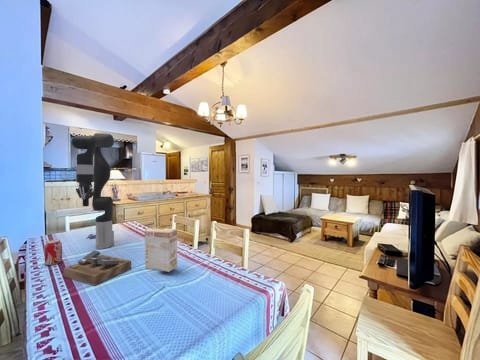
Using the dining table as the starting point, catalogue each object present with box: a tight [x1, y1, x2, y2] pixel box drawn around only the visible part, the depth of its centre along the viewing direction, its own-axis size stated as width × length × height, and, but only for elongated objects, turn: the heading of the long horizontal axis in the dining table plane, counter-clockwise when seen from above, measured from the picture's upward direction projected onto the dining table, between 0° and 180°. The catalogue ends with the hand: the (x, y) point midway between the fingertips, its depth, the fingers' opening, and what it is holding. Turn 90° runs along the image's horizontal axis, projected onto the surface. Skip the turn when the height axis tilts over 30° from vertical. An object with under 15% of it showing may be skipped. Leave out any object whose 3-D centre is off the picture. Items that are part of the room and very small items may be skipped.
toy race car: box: [86, 233, 96, 240], centre depth 158 cm, size 10×15×6 cm, turn 134°
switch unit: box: [63, 254, 132, 286], centre depth 102 cm, size 18×22×5 cm
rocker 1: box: [77, 250, 101, 265], centre depth 104 cm, size 8×4×2 cm, turn 157°
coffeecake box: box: [144, 226, 178, 273], centre depth 107 cm, size 15×7×20 cm, turn 71°
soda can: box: [43, 239, 63, 266], centre depth 113 cm, size 7×7×12 cm
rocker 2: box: [87, 257, 110, 263], centre depth 101 cm, size 8×4×2 cm, turn 157°
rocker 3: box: [97, 259, 119, 265], centre depth 99 cm, size 8×4×2 cm, turn 157°
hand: (85, 206), depth 111 cm, fingers closed
